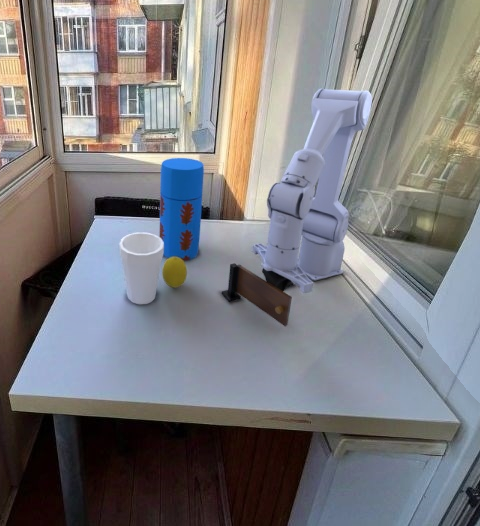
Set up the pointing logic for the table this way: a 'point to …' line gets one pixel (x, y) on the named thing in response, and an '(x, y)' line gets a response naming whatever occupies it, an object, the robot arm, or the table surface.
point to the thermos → (181, 206)
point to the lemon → (174, 272)
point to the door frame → (231, 293)
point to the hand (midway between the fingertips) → (275, 300)
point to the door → (263, 295)
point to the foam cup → (141, 265)
